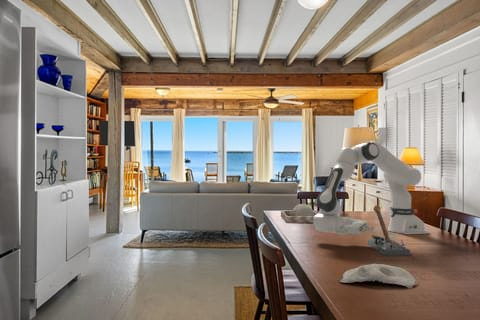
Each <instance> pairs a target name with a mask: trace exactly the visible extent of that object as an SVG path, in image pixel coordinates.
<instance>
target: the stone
mask: <svg viewBox="0 0 480 320" xmlns="http://www.w3.org/2000/svg"><path fill="white" fill-rule="evenodd" d="M342 277H343V278H342V279H341V280H340V281H339V282H340V283H345V284H346V283H348V284H349V283H356V282H358V283H359V282H360V283H362V282H375V281H377V282H379V283H383V284H392V285H394V284H395V285H399V286H404V287H406V288H407V289H411V288H413V287H414V286H418V281H417V280H416V278H415V276H413V274H411V273H410V271H408V270H406V269H404V268H402V267H397V266H392V265H389V264H382V263H380V264H378V263H372V264H365V265H363V264H362V265H360V266H358V267H356V268H350V269H347V270H346V271H345V272H343V273H342Z"/></svg>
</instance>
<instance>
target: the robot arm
mask: <svg viewBox="0 0 480 320" xmlns="http://www.w3.org/2000/svg"><path fill="white" fill-rule="evenodd" d="M370 161H371V162H372V163H373V164H374V165H375V166H376V167H377V168H378V169H379V170H380V171H381V172H383V178H384V180H385V181H386V183H387V185H388V187H389V190H390V198H391V200H390V201H391V202H390V204H391V205H390V209H389V216H390V219H389V224H388V228H387V231H389V232H392V233H398V234H404V235H422V234H423V235H427V234H429V233H430V232H429V230H428V229H425V223H424V221H423V220H421V219H420V218H419V217H418V216H416V215H415V214H418V210H417V209H413V208H412V194H411V192H409V191H408V189H407V186H408V187H411V186H416V185H418V184H419V183H420V182H421V180H422V173H421V171H420V170H419V169H417V168H415V167H413V166H410V165H409V164H408V163H405V162H404V161H403V160H402V159H399V158H397V157H396V156H395V155H394V154H393V153H392V152H391V151H390V150H389V149H387V148H386V147H385V146H383V144H381V143H379V142H377V141H376V140H371V141H367V142H364V143H359V144H357V145H354V146H352V147H347V146H345V147H343V148H341V149H340V151H339V152H338V154H337V155H336V158H335V161H334V164H333V167H332V170H331V171H330V173H329V175H328V177H327V179H326V183H325V184H324V188H323V189H322V190H321V192H319V194H318V195H317V197H316V204H317V207H318V208H319V209H320V210H319V211H318V212H316V213H317V214H316V215H314V217H313V223H312V224H313V227H314V229H315V230H317V231H318V232H323V233H328V234H329V233H334V234H338V235H345V236H347V235H354V236H358V235H359V234H361V233H362V232H372V231H373V230H374V226H370V225H368V221H366V220H363V219H358V218H353V217H350V216H342V215H341V214H342V212H343V209H342V205H341V204H340V202H339V200H338V198H337V190H338V188H339V186H340V184H341V182H342V181H343V182H345V181H348V180H350V179H351V178H352V176H353V174H354V171H355V168H356V166H357V165H363V164H365V163H368V162H370Z"/></svg>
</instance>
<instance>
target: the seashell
mask: <svg viewBox="0 0 480 320" xmlns="http://www.w3.org/2000/svg"><path fill="white" fill-rule="evenodd" d="M291 211H292V216H314V212H313V211H314V210H313V208H312V207H311V206H310V205H309V204H307V203H299V204H297V205H295V206H294V207H293V208H292V210H291Z"/></svg>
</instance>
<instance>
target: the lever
mask: <svg viewBox="0 0 480 320" xmlns="http://www.w3.org/2000/svg"><path fill="white" fill-rule="evenodd" d="M373 211H374V212H375V214H376V216H377V219H378V223H379V225H380V228H381V230H382V234H383V238H384V239H386V242H388V243H390V246H391V245H392V242H391V241H390V238H389V236H390V234H389V232H388V228H387V227H386V224H385V221H384V218H383V216H382V215H383V214H382V212H381V206H380V205H374V206H373Z"/></svg>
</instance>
